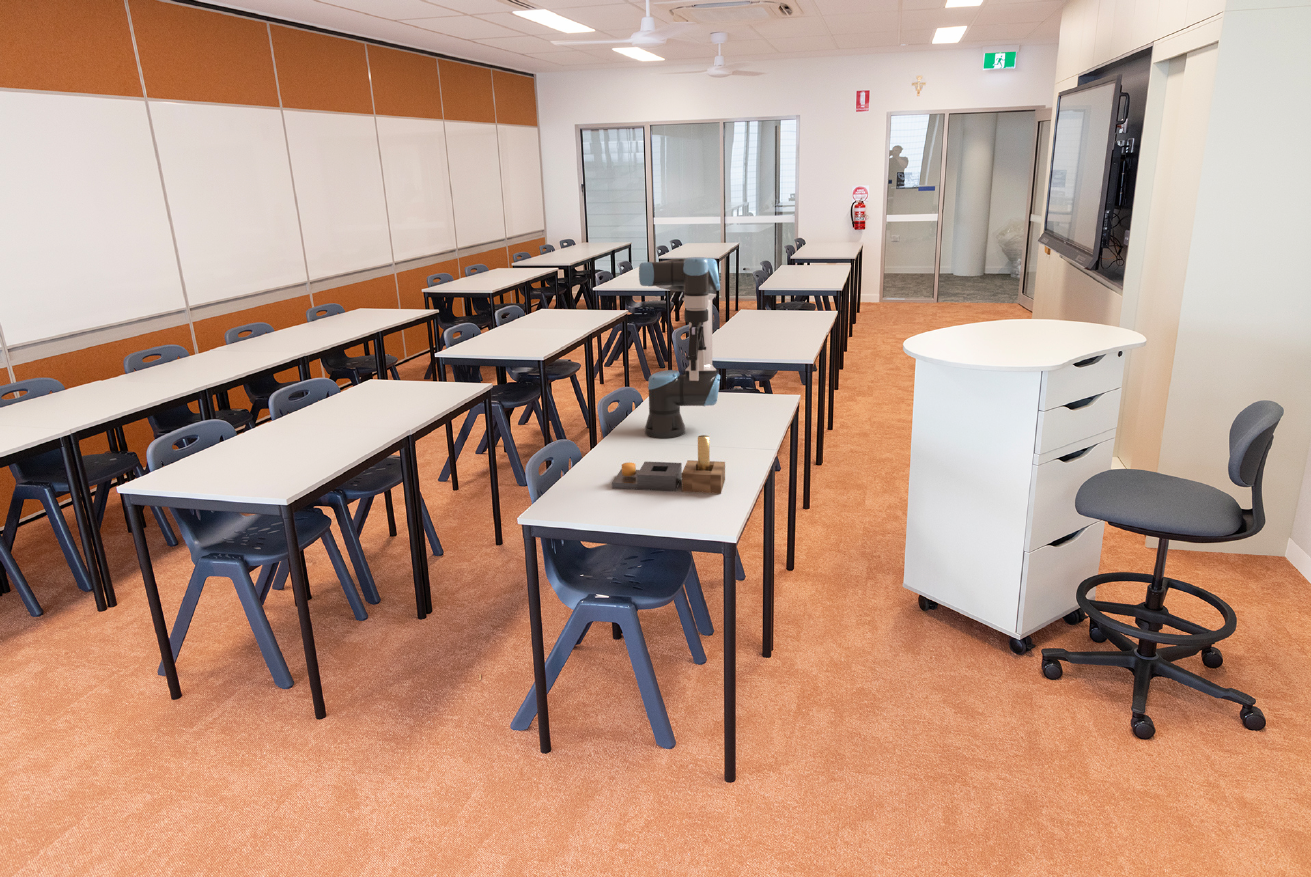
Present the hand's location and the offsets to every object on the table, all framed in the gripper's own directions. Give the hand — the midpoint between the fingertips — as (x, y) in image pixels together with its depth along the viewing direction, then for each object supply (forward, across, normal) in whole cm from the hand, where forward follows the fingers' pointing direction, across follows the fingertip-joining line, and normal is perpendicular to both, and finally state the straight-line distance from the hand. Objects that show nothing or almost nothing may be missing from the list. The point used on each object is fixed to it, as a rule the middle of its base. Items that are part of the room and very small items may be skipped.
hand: (697, 375), depth 253 cm
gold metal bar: (+32, +15, +4) cm, 35 cm away
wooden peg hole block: (+32, +15, +4) cm, 35 cm away
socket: (+32, +15, -14) cm, 38 cm away
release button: (+29, +15, -20) cm, 38 cm away
